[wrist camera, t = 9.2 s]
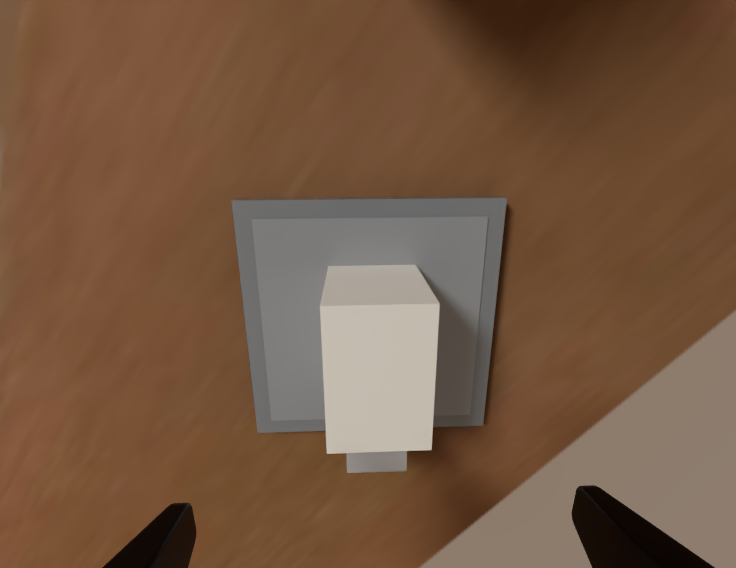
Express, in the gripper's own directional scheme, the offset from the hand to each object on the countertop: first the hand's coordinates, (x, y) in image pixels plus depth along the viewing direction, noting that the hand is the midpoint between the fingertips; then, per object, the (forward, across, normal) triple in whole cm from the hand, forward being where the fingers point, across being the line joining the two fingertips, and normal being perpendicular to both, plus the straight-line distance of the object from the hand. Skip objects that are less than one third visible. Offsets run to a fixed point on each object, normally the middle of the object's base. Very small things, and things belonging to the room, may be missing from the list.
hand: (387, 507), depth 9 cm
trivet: (+11, 0, 0) cm, 11 cm away
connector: (+10, 0, +1) cm, 10 cm away
